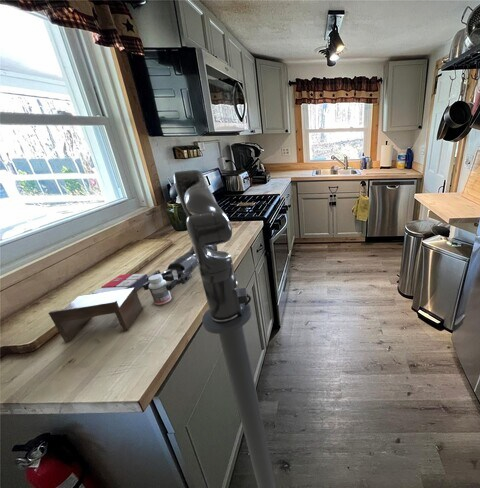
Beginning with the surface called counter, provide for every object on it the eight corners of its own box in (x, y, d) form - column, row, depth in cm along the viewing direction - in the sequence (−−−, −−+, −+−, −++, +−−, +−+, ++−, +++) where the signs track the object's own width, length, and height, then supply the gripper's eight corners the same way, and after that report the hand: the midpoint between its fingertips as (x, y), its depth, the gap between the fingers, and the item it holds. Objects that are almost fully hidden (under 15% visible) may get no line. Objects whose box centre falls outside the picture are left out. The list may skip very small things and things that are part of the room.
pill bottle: (156, 298, 94) (148, 274, 90) (173, 295, 95) (165, 271, 91) (152, 306, 89) (143, 282, 85) (170, 303, 90) (162, 279, 87)
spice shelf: (142, 307, 89) (132, 281, 85) (127, 330, 78) (115, 301, 74) (87, 316, 85) (74, 289, 81) (64, 342, 74) (48, 313, 70)
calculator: (147, 272, 104) (120, 291, 90) (149, 281, 106) (124, 302, 92) (119, 273, 104) (88, 293, 90) (123, 283, 106) (93, 303, 92)
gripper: (164, 257, 103) (133, 278, 88) (198, 257, 101) (172, 278, 86) (169, 274, 106) (140, 297, 91) (202, 274, 104) (178, 297, 89)
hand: (156, 288), depth 89 cm, fingers open, 8 cm apart
